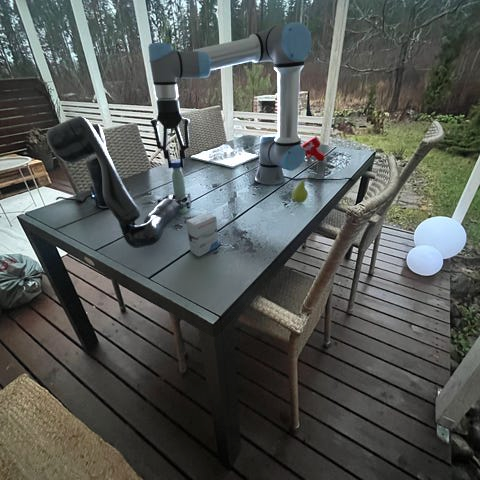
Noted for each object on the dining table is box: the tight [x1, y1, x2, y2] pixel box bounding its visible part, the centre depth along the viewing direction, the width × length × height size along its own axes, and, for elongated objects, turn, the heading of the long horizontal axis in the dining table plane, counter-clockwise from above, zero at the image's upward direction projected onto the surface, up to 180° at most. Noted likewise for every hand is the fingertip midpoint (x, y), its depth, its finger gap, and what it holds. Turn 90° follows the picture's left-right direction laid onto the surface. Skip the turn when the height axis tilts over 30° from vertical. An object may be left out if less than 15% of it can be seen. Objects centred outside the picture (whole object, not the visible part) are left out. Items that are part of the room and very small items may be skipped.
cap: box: [170, 159, 182, 169], centre depth 104 cm, size 4×4×2 cm
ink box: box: [185, 211, 219, 258], centre depth 87 cm, size 8×5×12 cm, turn 134°
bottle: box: [171, 168, 189, 215], centre depth 109 cm, size 5×5×21 cm
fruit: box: [291, 174, 311, 204], centre depth 118 cm, size 7×8×12 cm
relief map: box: [190, 143, 259, 169], centre depth 179 cm, size 27×35×5 cm
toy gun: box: [301, 135, 326, 164], centre depth 171 cm, size 18×4×15 cm
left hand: (182, 194), depth 113 cm, fingers closed on bottle, 4 cm apart
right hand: (176, 166), depth 105 cm, fingers closed on cap, 4 cm apart
